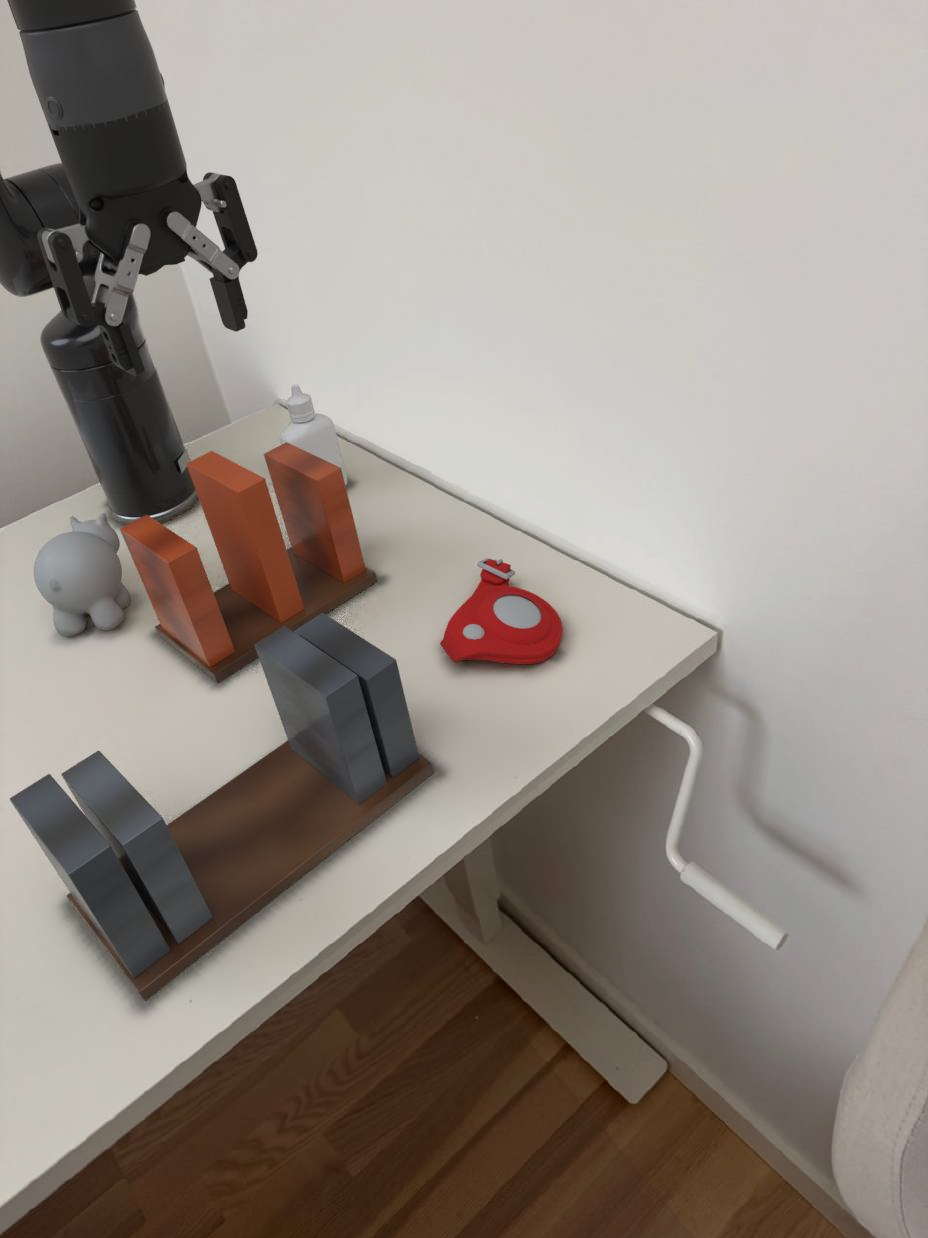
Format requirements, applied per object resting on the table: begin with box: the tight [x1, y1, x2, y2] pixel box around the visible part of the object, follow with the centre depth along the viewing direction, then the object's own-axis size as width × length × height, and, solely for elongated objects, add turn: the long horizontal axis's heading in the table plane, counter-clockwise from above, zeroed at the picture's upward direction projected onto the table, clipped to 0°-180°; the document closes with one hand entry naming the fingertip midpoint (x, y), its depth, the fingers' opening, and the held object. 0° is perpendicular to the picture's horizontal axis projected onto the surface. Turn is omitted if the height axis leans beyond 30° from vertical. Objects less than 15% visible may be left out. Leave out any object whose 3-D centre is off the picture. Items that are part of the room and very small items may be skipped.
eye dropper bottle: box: [279, 383, 348, 487], centre depth 96 cm, size 4×6×12 cm
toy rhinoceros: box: [33, 512, 132, 637], centre depth 86 cm, size 7×12×8 cm, turn 179°
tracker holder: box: [439, 557, 564, 665], centre depth 77 cm, size 12×4×10 cm
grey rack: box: [9, 613, 434, 1002], centre depth 61 cm, size 10×23×11 cm, turn 133°
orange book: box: [186, 450, 304, 623], centre depth 80 cm, size 8×2×13 cm, turn 44°
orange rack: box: [119, 442, 378, 684], centre depth 81 cm, size 10×17×12 cm, turn 133°
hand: (186, 349), depth 70 cm, fingers open, 8 cm apart
